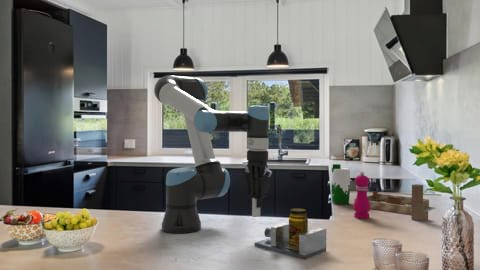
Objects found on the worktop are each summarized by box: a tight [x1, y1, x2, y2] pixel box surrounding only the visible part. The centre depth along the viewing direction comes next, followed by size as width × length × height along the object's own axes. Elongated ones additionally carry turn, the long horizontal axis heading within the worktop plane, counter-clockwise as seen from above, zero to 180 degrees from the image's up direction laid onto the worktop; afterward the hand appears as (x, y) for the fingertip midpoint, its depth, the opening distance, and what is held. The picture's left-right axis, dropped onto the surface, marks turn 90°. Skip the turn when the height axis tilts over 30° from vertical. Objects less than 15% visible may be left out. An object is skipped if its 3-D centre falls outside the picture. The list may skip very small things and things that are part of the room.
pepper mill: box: [352, 171, 372, 220], centre depth 182 cm, size 7×7×20 cm
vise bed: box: [254, 227, 327, 260], centre depth 136 cm, size 20×12×7 cm, turn 47°
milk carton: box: [330, 163, 351, 205], centre depth 215 cm, size 9×9×20 cm
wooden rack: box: [372, 190, 410, 206], centre depth 209 cm, size 18×20×6 cm
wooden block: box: [410, 183, 429, 222], centre depth 178 cm, size 7×3×15 cm, turn 117°
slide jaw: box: [263, 221, 289, 247], centre depth 140 cm, size 8×11×6 cm
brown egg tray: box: [353, 193, 430, 215], centre depth 207 cm, size 27×25×4 cm
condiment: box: [285, 207, 309, 250], centre depth 134 cm, size 7×8×12 cm
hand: (256, 216), depth 148 cm, fingers closed
